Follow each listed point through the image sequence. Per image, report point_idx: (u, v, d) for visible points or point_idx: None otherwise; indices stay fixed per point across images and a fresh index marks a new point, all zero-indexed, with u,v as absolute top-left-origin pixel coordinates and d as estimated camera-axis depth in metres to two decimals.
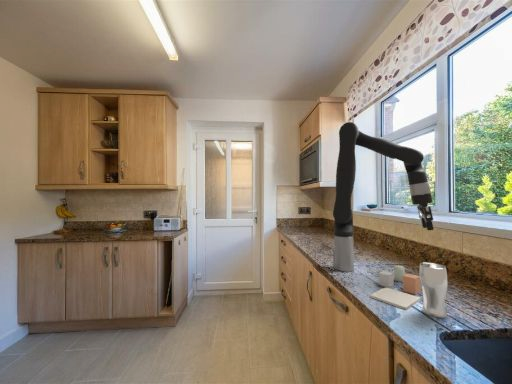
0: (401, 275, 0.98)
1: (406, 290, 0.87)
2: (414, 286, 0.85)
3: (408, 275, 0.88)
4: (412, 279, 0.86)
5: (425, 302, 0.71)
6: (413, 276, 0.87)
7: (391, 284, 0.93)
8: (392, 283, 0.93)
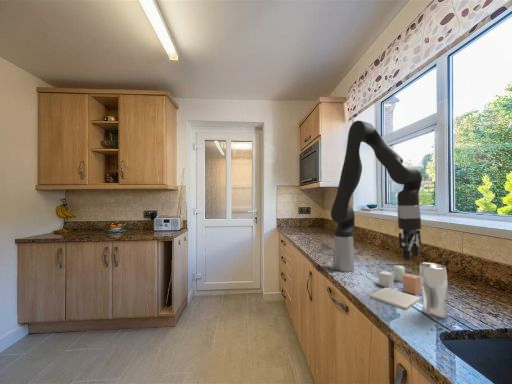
0: (401, 275, 0.98)
1: (406, 290, 0.87)
2: (414, 286, 0.85)
3: (408, 275, 0.88)
4: (412, 279, 0.86)
5: (425, 302, 0.71)
6: (413, 276, 0.87)
7: (391, 284, 0.93)
8: (392, 283, 0.93)
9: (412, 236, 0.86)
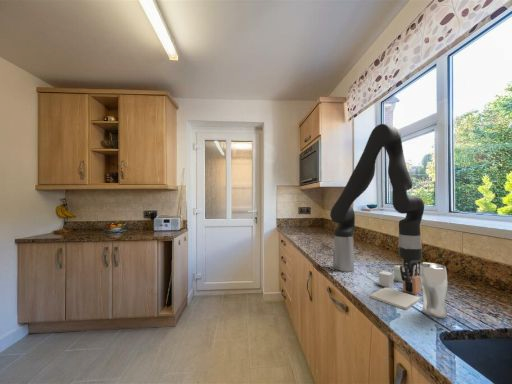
0: None
1: None
2: (414, 286, 0.85)
3: None
4: (412, 279, 0.86)
5: (425, 302, 0.71)
6: None
7: (391, 284, 0.93)
8: (392, 283, 0.93)
9: (413, 267, 0.86)
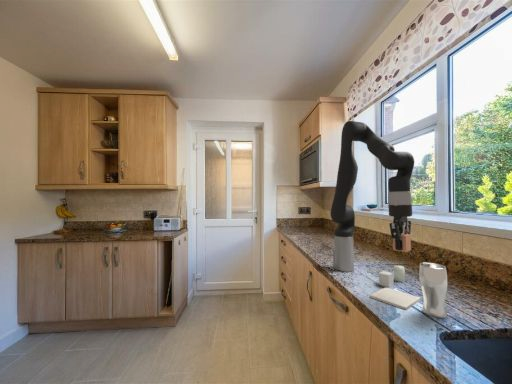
0: (401, 275, 0.98)
1: None
2: (404, 243, 0.82)
3: None
4: (402, 236, 0.82)
5: (425, 302, 0.71)
6: (403, 234, 0.84)
7: (391, 284, 0.93)
8: (392, 283, 0.93)
9: (403, 224, 0.82)
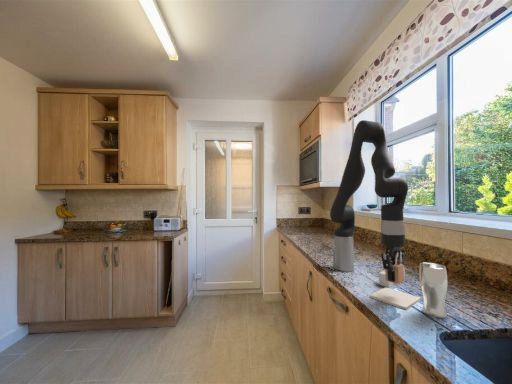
0: None
1: None
2: (397, 275, 0.79)
3: None
4: (395, 267, 0.80)
5: (425, 302, 0.71)
6: None
7: (391, 284, 0.93)
8: (392, 283, 0.93)
9: (395, 255, 0.80)
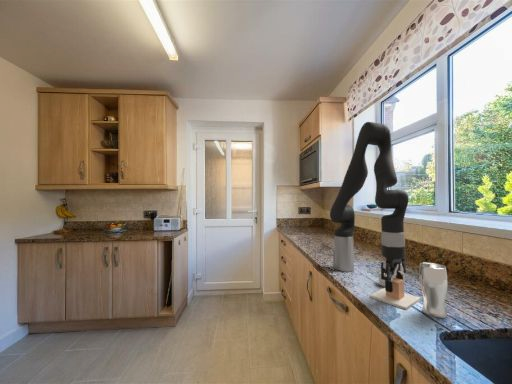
0: None
1: (389, 295, 0.81)
2: (397, 291, 0.79)
3: None
4: (395, 283, 0.80)
5: (425, 302, 0.71)
6: (396, 280, 0.81)
7: None
8: None
9: (395, 266, 0.80)
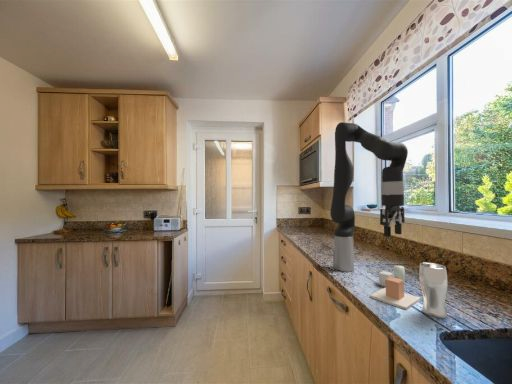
0: (401, 275, 0.98)
1: (389, 295, 0.81)
2: (397, 291, 0.79)
3: (391, 279, 0.82)
4: (395, 283, 0.80)
5: (425, 302, 0.71)
6: (396, 280, 0.81)
7: None
8: None
9: (394, 212, 0.85)
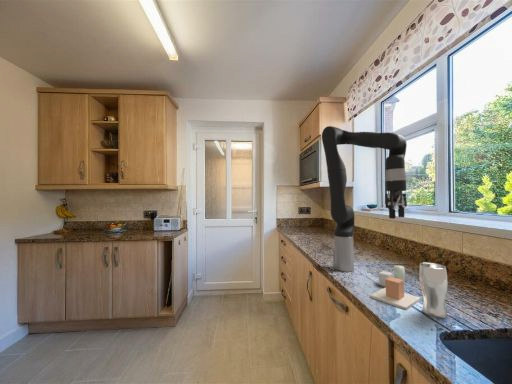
0: (401, 275, 0.98)
1: (389, 295, 0.81)
2: (397, 291, 0.79)
3: (391, 279, 0.82)
4: (395, 283, 0.80)
5: (425, 302, 0.71)
6: (396, 280, 0.81)
7: None
8: None
9: (398, 197, 0.94)
